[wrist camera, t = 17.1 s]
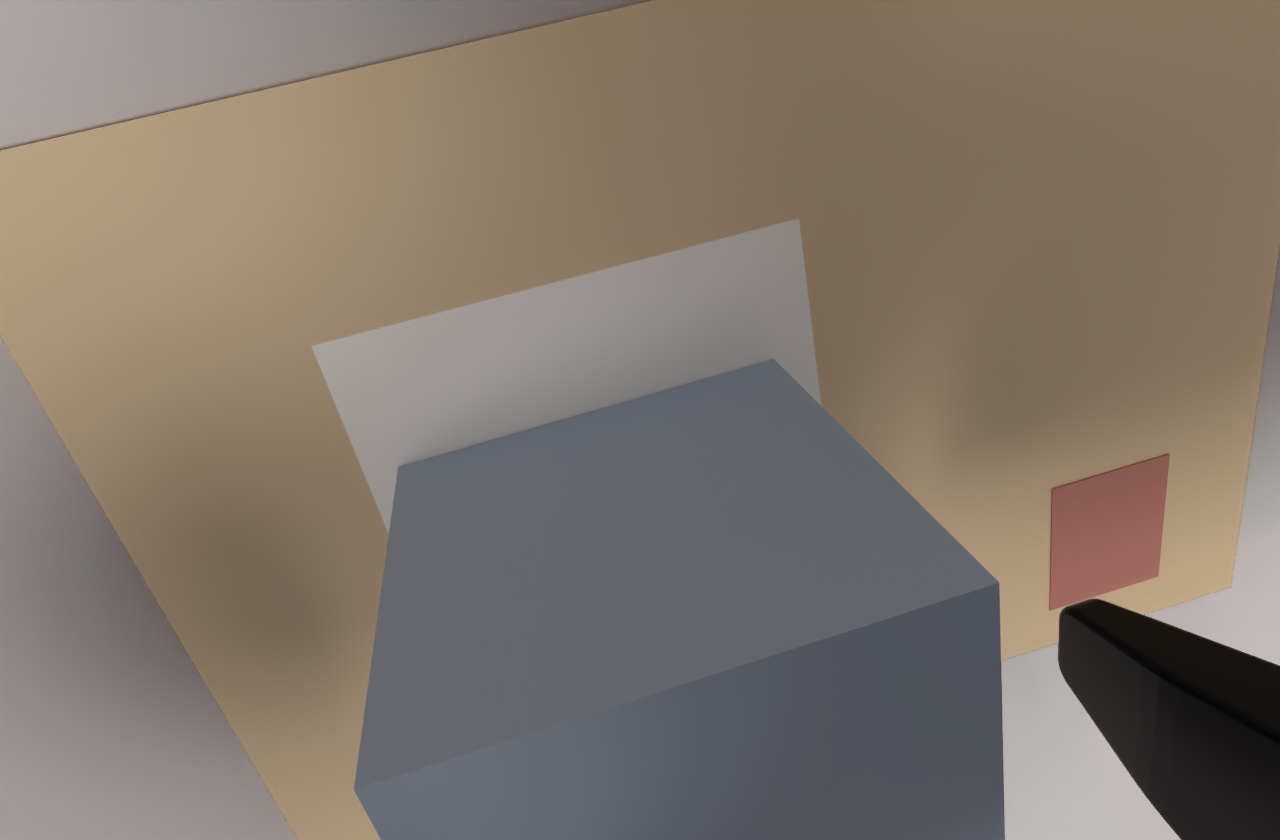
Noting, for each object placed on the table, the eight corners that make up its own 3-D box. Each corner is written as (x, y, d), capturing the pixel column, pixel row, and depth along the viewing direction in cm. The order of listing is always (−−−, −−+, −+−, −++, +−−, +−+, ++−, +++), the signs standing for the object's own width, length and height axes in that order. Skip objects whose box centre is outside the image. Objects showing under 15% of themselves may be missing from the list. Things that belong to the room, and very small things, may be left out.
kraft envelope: (322, 867, 13) (320, 881, 13) (-84, 170, 8) (-99, 172, 8) (1221, 581, 15) (1232, 588, 14) (1321, -155, 10) (1339, -159, 10)
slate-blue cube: (510, 743, 13) (540, 1129, 8) (398, 467, 10) (353, 789, 6) (817, 644, 13) (1006, 959, 8) (773, 358, 11) (999, 582, 6)
